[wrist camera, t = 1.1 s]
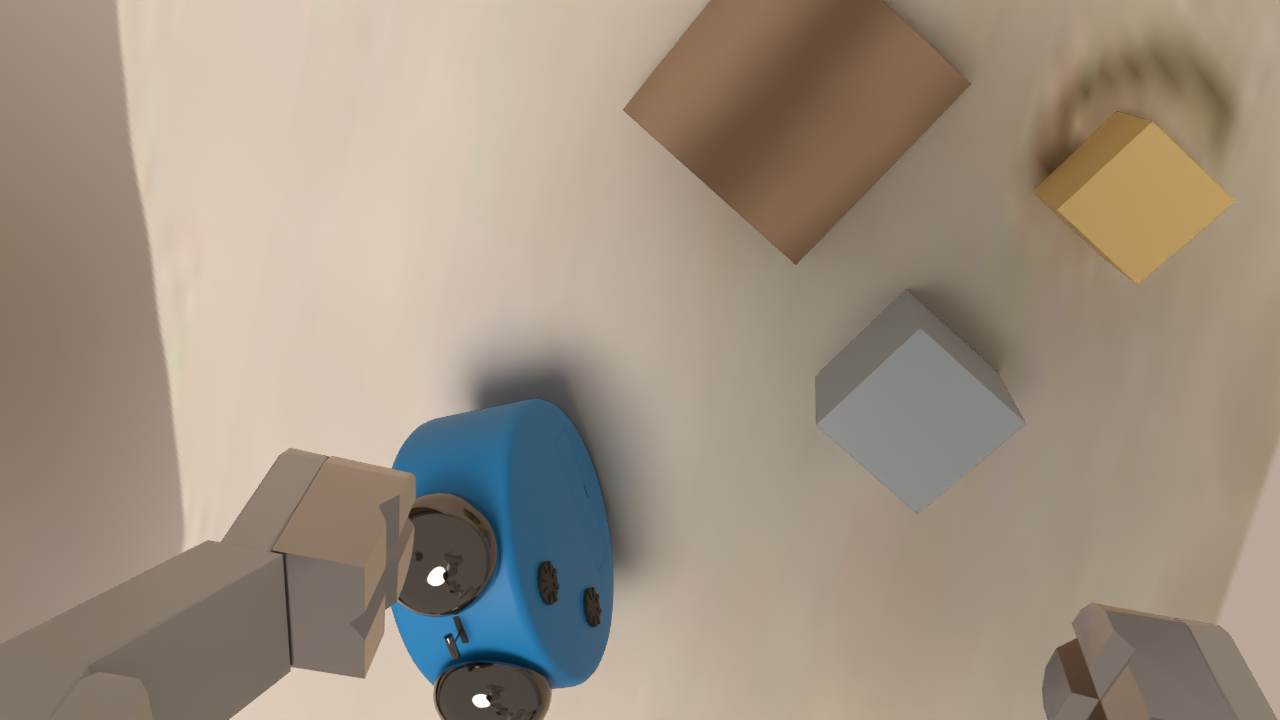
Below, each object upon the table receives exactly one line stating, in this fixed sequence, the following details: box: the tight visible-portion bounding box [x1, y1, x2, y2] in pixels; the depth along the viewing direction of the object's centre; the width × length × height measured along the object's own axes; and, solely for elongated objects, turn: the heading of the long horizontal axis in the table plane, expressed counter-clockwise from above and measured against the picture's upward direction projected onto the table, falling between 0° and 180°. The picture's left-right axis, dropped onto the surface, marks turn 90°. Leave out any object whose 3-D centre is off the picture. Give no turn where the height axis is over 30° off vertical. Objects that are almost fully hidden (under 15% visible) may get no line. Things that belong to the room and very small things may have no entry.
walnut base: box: [623, 0, 971, 265], centre depth 40 cm, size 10×10×3 cm
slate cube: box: [815, 290, 1026, 514], centre depth 42 cm, size 6×6×6 cm
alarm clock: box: [391, 399, 613, 720], centre depth 43 cm, size 13×6×15 cm, turn 17°
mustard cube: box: [1033, 112, 1235, 285], centre depth 38 cm, size 4×4×4 cm
